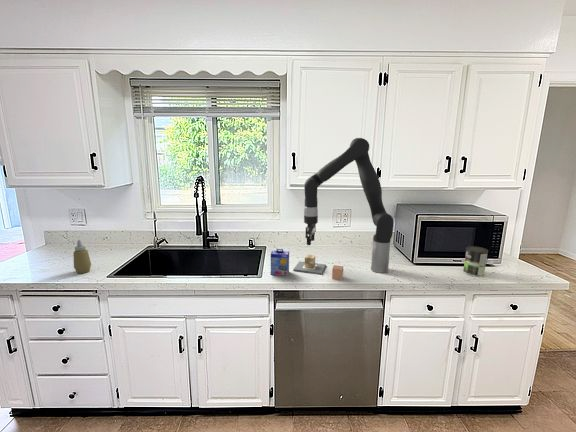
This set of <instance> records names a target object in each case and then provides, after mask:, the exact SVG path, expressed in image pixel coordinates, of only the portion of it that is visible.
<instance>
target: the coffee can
mask: <svg viewBox="0 0 576 432" xmlns="http://www.w3.org/2000/svg"><path fill="white" fill-rule="evenodd" d="M488 253H489V249H488V248H485V247H482V246H481V247H480V246H477V245H475V246H474V245H469V246H466V248H465V257H464V265H463V271H462V272H463V274H465V275H468V276H471V277H475V278H476V277H477V278H478V277H479V278H482V277H484V276H485V272H486V271H485V270H486V265H487V258H488Z"/></svg>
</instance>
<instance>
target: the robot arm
mask: <svg viewBox="0 0 576 432" xmlns="http://www.w3.org/2000/svg"><path fill="white" fill-rule="evenodd" d="M369 151H370V143H369V141H368V140H367V139H365V138H363V137H356V138H354V139H352V140H351V142H350V144H349V147H348V148H347V149H346V150H345V151H344V152H343V153H341V154H340V155H338V157H336V158H334V159H332V160H331V161H329V162H328V163H327V164H325V165H324V166H323V167H321V168H320V169H319V170H318V171H317V172H316V173H314V174H313V175H311V176H309V177H308V178H307V179H306V180H305V182H304V186H303V187H304V209H303V223H304V224H306V225H307V226H306V227H305V239H306V245H307V246H311V245H312V242H314V241H315V234H316V233H317V231H316V230H317V229H316V227H317V226H316V224H318V223H319V222H318V221H319V219H318V218H319V214H318V213H319V209H318V188H319V186H321V185H322V184H324V183H326V182H327V181H329V180H330V179H332V178H333V177H334V176H335V175H336V174H338V173H339V172H340V171H342V170H343V169H344V168H345V167H347V166H348V165H350V164H351V163H352V162H355V164H356V168H357V170H358V176H359V179H360V183H361V186H362V189H363V192H364V194H365V195H364V196H365V198H366V200H367V202H368V205H369V209H370V214H371V219H372V223H373V225H374V226H375V228H376V229H375V233H374V234H373V239H372V249H371V250H372V252H371V266H370V270H371V271H372V272H374V273H377V272H378V273H379V274H385V273H389V266H390V265H389V264H390V250H391V240H392V238H393V233H394V232H393V231H394V223H395V221H394V218H393V216H392V215H391V214H389V213H387V211H386V209H385V206H384V203H383V197H382V196H383V194H382V193H383V192H382V191H383V190H382V189H383V188H382V185H381V182H380V179H379V176H378V173H377V172H376V169H375V167H374V166H373V163H372V162H371V158H370V154H369Z"/></svg>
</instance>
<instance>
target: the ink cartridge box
mask: <svg viewBox="0 0 576 432" xmlns="http://www.w3.org/2000/svg"><path fill="white" fill-rule="evenodd" d="M289 273H290V251H287V250H284V249H283V248H282V249H281V248H276V250H271V251H270V275H273V276H289Z"/></svg>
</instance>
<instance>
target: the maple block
mask: <svg viewBox="0 0 576 432" xmlns="http://www.w3.org/2000/svg"><path fill="white" fill-rule="evenodd" d="M304 262H305V268H312V269H313V268H314V267H315V263H316V254H314V255H313V254H306V255H305V256H304Z"/></svg>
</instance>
